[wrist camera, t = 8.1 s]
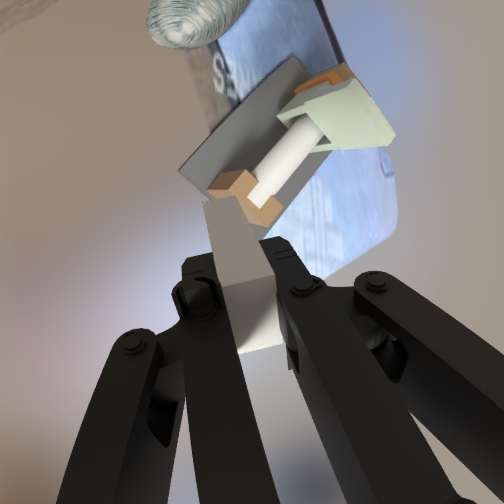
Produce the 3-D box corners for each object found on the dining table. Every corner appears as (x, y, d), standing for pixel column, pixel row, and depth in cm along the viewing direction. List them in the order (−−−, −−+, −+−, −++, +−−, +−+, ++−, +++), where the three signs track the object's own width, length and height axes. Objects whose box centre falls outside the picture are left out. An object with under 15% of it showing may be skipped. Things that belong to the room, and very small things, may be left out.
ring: (293, 91, 32) (327, 76, 26) (299, 85, 32) (333, 70, 26) (328, 132, 35) (366, 125, 29) (334, 126, 35) (371, 118, 29)
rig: (177, 170, 32) (196, 164, 25) (287, 59, 35) (326, 35, 27) (254, 240, 38) (292, 254, 30) (345, 126, 40) (390, 118, 32)
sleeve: (274, 114, 31) (346, 87, 21) (296, 92, 32) (368, 62, 21) (311, 154, 34) (388, 145, 23) (330, 131, 34) (407, 117, 24)
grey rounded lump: (198, -52, 24) (243, -68, 18) (241, -5, 32) (291, -6, 26) (116, 18, 26) (138, 13, 20) (169, 63, 33) (205, 74, 28)
